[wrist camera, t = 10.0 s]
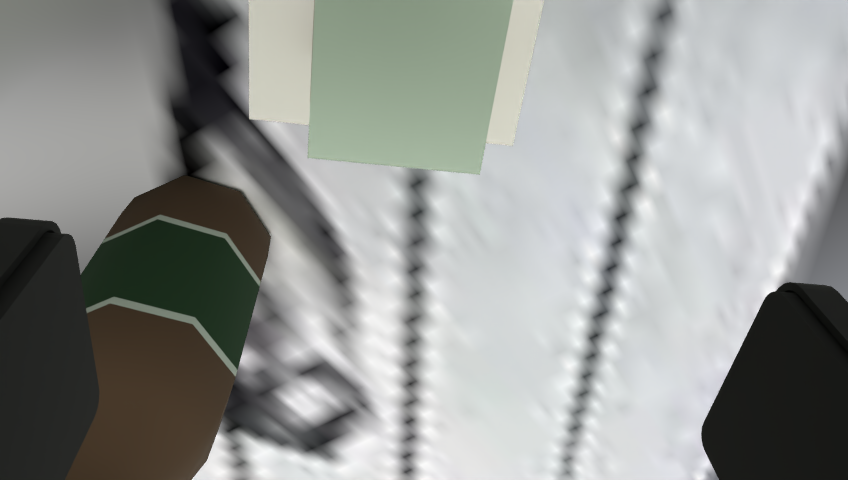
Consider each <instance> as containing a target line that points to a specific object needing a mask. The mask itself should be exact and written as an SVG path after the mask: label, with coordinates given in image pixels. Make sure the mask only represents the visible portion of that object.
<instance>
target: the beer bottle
mask: <svg viewBox="0 0 848 480" xmlns="http://www.w3.org/2000/svg"><path fill="white" fill-rule="evenodd" d="M270 239H271V236H270V235H269V233H268V232H267V230H266V229H265V227H264V226H263V225H262V223H261V222H260V220H259V219H258V217H257V216H256V214H255V213H254V211H253V210H252V208H251V207H250V205H249V204H248V202H247V201H246V199H245V198H244V196H243V195H242V193H241V192H240V191H236V190H233V189H230V188H226V187H223V186H220V185H216V184H213V183H210V182H206V181H203V180H200V179H196V178H193V177H190V176H186V175H184V176H181V177H179V178H177V179H175V180H172V181H170V182H168V183H166V184H163V185H161V186H159V187H157V188H155V189H152V190H150V191H148V192H146V193H143V194H141V195H139V196H137V197H135V198H134V199H133V200H132V201H131V202H130V204H129V205H128V206H127V207H126V209H125V210H124V211H123V212H122V213H121V215H120V216H119V218H118V219H117V221H116V222H115V224H114V225H113V227H112V228H111V230H110V231H109V233H108V234H107V236H106V238H105V239H104V241H103V242H102V244H101V245H100V247H99V248H98V250H97V251H96V253H95V254H94V256H93V257H92V259H91V260H90V262H89V263H88V265H87V266H86V268H85V269H84V271H83V272H82V274H81V281H82V287H83V293H84V299H85V305H86V311H87V317H88V323H89V329H90V335H91V341H92V348H93V354H94V360H95V366H96V372H97V378H98V384H99V392H100V393H99V404H98V408H97V412H96V415H95V417H94V420H93V422H92V424H91V426H90V428H89V430H88V432H87V434H86V437H85V439H84V441H83V443H82V445H81V447H80V449H79V451H78V453H77V455H76V458H75V460H74V462H73V464H72V466H71V468H70V470H69V472H68V474H67V476H66V479H65V480H192V478H193V477H194V476H195V475H196V473H197V472H198V471H199V470H200V468H201V467H202V466H203V465H204V463H205V462H206V461H207V459H208V456H209V453H210V451H211V448H212V445H213V442H214V440H215V437H216V434H217V432H218V429H219V426H220V423H221V420H222V417H223V414H224V411H225V408H226V405H227V402H228V399H229V396H230V393H231V390H232V386H233V383H234V380H235V377H236V374H237V370H238V366H239V362H240V358H241V355H242V351H243V347H244V343H245V340H246V336H247V332H248V328H249V324H250V321H251V317H252V313H253V309H254V306H255V302H256V298H257V294H258V291H259V287H260V283H261V279H262V275H263V272H264V268H265V264H266V260H267V257H268V251H269V245H270Z"/></svg>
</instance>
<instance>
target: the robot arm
mask: <svg viewBox="0 0 848 480" xmlns="http://www.w3.org/2000/svg"><path fill="white" fill-rule="evenodd" d="M99 393H100V392H99V384H98V378H97V372H96V366H95V360H94V354H93V348H92V341H91V335H90V329H89V323H88V317H87V311H86V305H85V299H84V293H83V287H82V281H81V275H80V270H79V263H78V257H77V251H76V245H75V242H74V239H73V237H72V236H71V235H69V234H61V232H60V229H59V227H58V226H57V224H56V223H54V222H52V221H42V220H31V219H30V220H29V219H19V218H1V219H0V480H65V479H66V476H67V474H68V472H69V470H70V468H71V466H72V464H73V462H74V460H75V458H76V455H77V453H78V451H79V449H80V447H81V445H82V443H83V441H84V439H85V437H86V434H87V432H88V430H89V428H90V426H91V424H92V422H93V420H94V417H95V415H96V412H97V408H98V404H99ZM701 434H702V444H703V447H704V450H705V452H706V454H707V456H708V458H709V460H710V462H711V464H712V466H713V468H714V470H715V472H716V474H717V476H718V478H719V480H848V302H847V301H846V300H845V299H844V298H843V297H842V296H841V295H840V294H839V293H838V291H836V290H835V289H834V288H832V287H830V286H826V285H816V284H804V283H792V282H789V283H785V284H783V285H782V286H780V287H779V288H778V289H777V291H775V292H771V293H770V294H769V295H767V297H766V298H765V300H764V301H763V303H762V305H761V307H760V310H759V312H758V314H757V316H756V318H755V320H754V322H753V324H752V326H751V328H750V330H749V332H748V334H747V336H746V338H745V340H744V342H743V344H742V346H741V348H740V350H739V352H738V354H737V356H736V358H735V360H734V362H733V364H732V366H731V368H730V370H729V372H728V374H727V376H726V378H725V380H724V382H723V384H722V387H721V389H720V391H719V393H718V395H717V397H716V399H715V401H714V403H713V405H712V407H711V409H710V411H709V413H708V415H707V417H706V419H705V421H704V423H703V426H702V433H701Z"/></svg>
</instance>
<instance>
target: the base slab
mask: <svg viewBox="0 0 848 480" xmlns="http://www.w3.org/2000/svg"><path fill="white" fill-rule="evenodd" d="M543 3H544V0H513V5H512V10H511V15H510V20H509V25H508V30H507V36H506V41H505V46H504V51H503V56H502V61H501V67H500V72H499V77H498V82H497V87H496V92H495V98H494V103H493V108H492V113H491V118H490V124H489V129H488V134H487V139H486V143H489V144H499V145H509V146H513V143H514V138H515V133H516V129H517V124H518V119H519V115H520V110H521V105H522V101H523V96H524V92H525V87H526V82H527V78H528V73H529V68H530V64H531V59H532V54H533V50H534V45H535V41H536V36H537V31H538V27H539V22H540V17H541V13H542V8H543ZM313 20H314V0H249V119H254V120H264V121H273V122H283V123H293V124H303V125H309V117H310V87H311V64H312V42H313Z"/></svg>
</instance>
